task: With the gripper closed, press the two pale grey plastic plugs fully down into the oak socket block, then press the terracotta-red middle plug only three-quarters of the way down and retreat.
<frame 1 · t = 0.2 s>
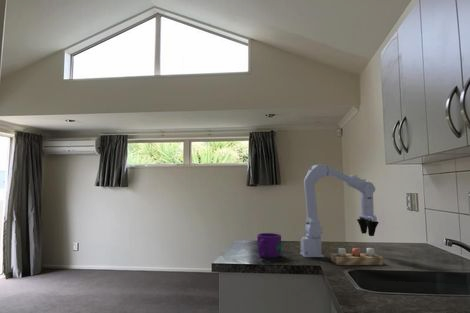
hand: (367, 234, 161), 10 cm above the counter, fingers open, 7 cm apart
mug: (266, 257, 155), on the counter
plug red: (356, 252, 146), point 4 cm above the counter, slide at 0.0 cm
socket block: (356, 262, 146), on the counter
plug right: (370, 252, 147), point 4 cm above the counter, slide at 0.0 cm
plug left: (342, 252, 146), point 4 cm above the counter, slide at 0.0 cm
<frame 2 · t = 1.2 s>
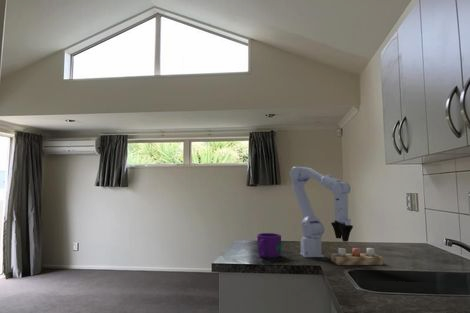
hand: (341, 239, 146), 10 cm above the counter, fingers open, 7 cm apart
nothing on the counter moved.
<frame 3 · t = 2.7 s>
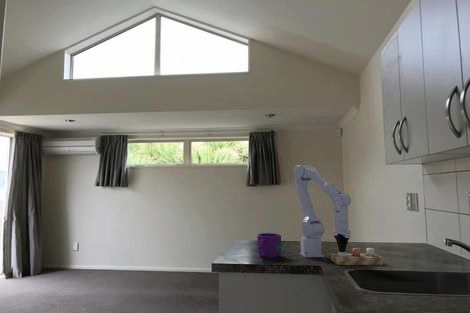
hand: (342, 252, 146), 5 cm above the counter, fingers closed, pressing on plug left
plug left: (342, 255, 146), point 3 cm above the counter, slide at 1.4 cm, touching gripper
everything else where it was.
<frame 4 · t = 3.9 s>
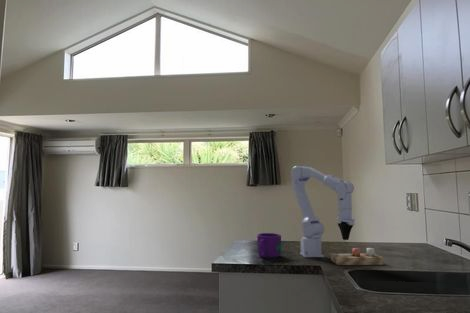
hand: (345, 239, 146), 10 cm above the counter, fingers closed
plug left: (342, 258, 146), point 2 cm above the counter, slide at 2.5 cm
everything else where it was.
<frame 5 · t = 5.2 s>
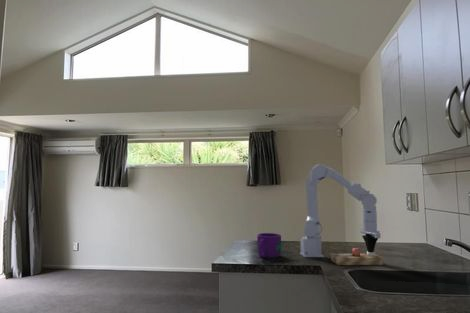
hand: (370, 252, 147), 4 cm above the counter, fingers closed, pressing on plug right
plug right: (370, 255, 147), point 3 cm above the counter, slide at 1.5 cm, touching gripper
everything else where it was.
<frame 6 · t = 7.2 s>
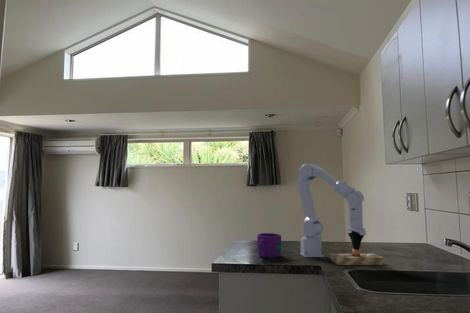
hand: (356, 249, 147), 6 cm above the counter, fingers closed, pressing on plug red
plug red: (356, 252, 146), point 4 cm above the counter, slide at 0.2 cm, touching gripper
plug right: (370, 257, 147), point 2 cm above the counter, slide at 2.5 cm
everything else where it was.
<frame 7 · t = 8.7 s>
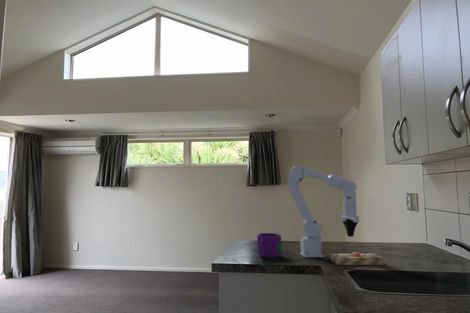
hand: (350, 236, 153), 10 cm above the counter, fingers closed
plug red: (356, 256, 146), point 3 cm above the counter, slide at 1.8 cm
everything else where it was.
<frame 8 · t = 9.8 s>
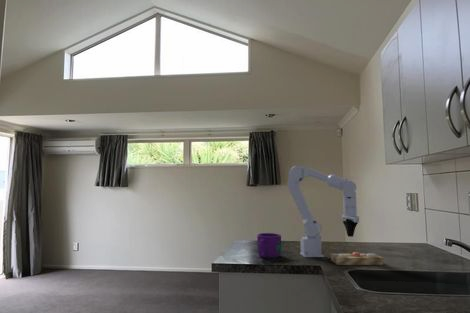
hand: (350, 236, 153), 10 cm above the counter, fingers closed
nothing on the counter moved.
at the end: plug left slide at 2.5 cm; plug right slide at 2.5 cm; plug red slide at 1.8 cm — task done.
